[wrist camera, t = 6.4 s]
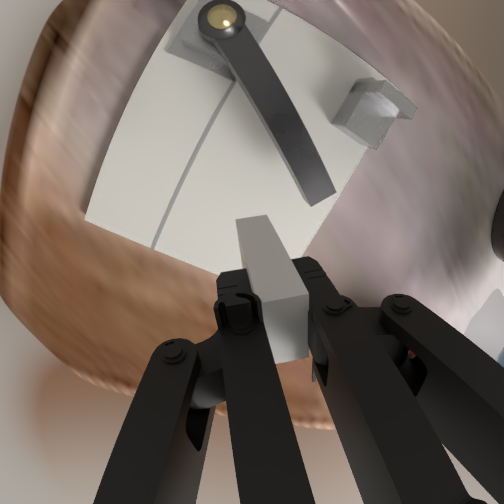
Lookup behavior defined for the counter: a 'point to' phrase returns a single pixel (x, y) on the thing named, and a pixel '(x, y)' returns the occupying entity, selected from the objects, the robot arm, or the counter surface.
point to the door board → (224, 147)
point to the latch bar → (266, 96)
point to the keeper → (371, 111)
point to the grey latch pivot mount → (208, 43)
